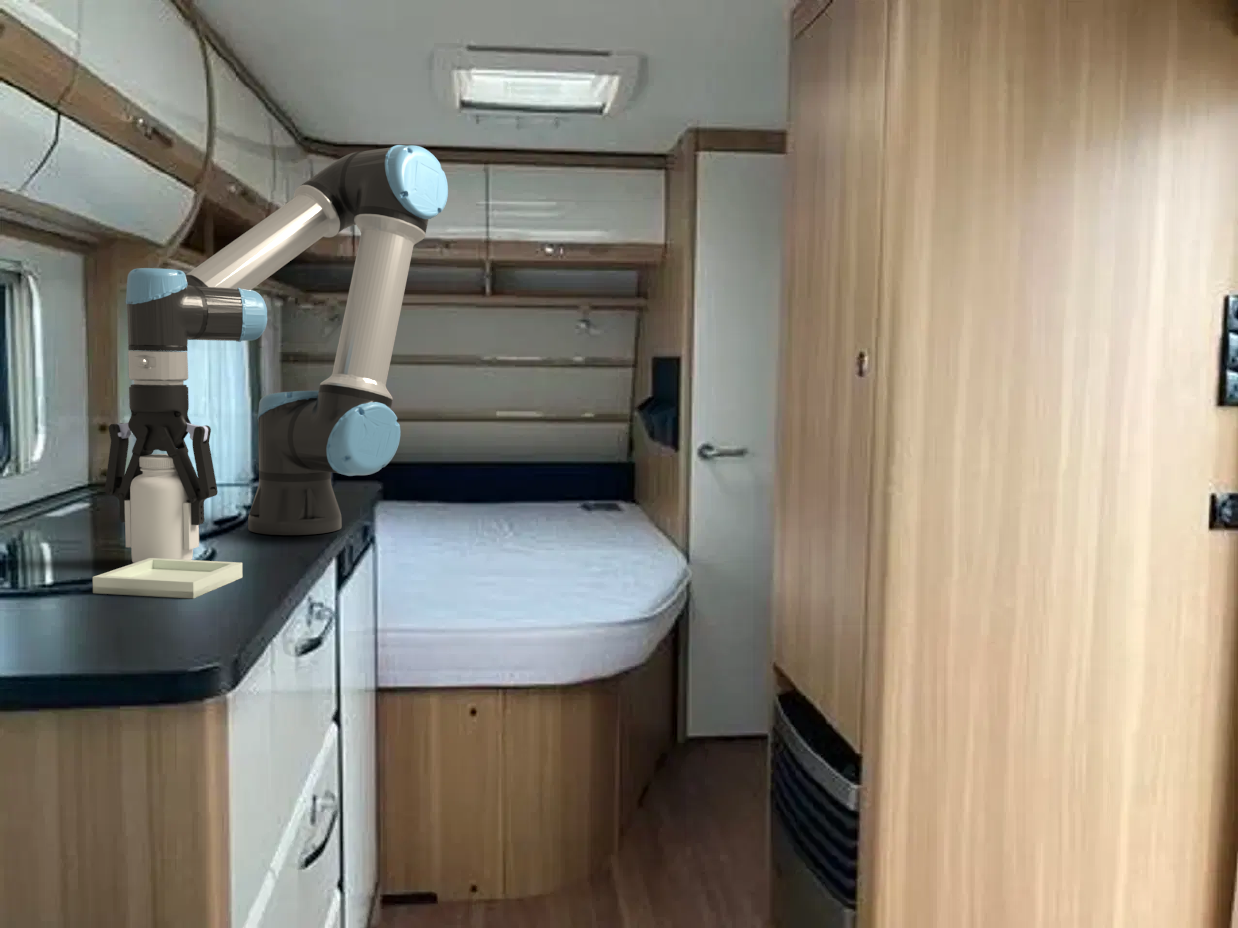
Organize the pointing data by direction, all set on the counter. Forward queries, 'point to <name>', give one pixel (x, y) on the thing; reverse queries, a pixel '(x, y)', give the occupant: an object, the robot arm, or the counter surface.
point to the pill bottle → (157, 511)
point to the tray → (167, 578)
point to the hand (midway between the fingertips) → (162, 546)
